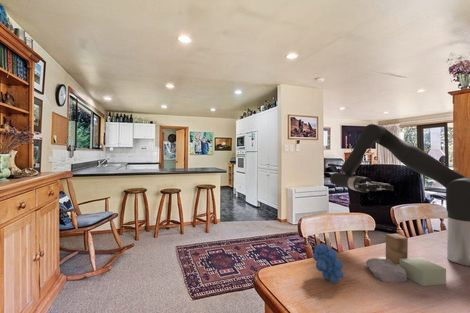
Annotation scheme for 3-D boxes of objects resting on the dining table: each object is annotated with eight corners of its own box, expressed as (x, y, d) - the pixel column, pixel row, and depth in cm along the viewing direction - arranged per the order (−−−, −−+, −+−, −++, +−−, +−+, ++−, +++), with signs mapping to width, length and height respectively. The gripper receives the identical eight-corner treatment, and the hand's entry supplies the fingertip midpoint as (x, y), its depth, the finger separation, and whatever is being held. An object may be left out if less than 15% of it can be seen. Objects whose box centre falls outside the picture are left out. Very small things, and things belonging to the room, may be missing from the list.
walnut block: (396, 258, 95) (396, 233, 95) (407, 263, 90) (407, 237, 90) (385, 258, 95) (385, 234, 94) (395, 264, 90) (396, 238, 90)
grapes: (305, 275, 84) (305, 242, 83) (317, 270, 87) (317, 238, 87) (335, 292, 74) (335, 254, 74) (347, 285, 78) (347, 249, 77)
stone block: (381, 288, 79) (410, 282, 79) (378, 274, 80) (407, 268, 79) (363, 271, 91) (388, 266, 91) (360, 259, 91) (385, 254, 91)
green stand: (420, 270, 87) (420, 257, 87) (445, 283, 78) (446, 268, 78) (399, 272, 86) (399, 258, 86) (422, 286, 77) (423, 271, 77)
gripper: (346, 176, 118) (370, 180, 102) (371, 176, 120) (398, 179, 104) (346, 191, 118) (370, 197, 102) (371, 190, 120) (398, 196, 104)
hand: (384, 188), depth 103 cm, fingers open, 8 cm apart
